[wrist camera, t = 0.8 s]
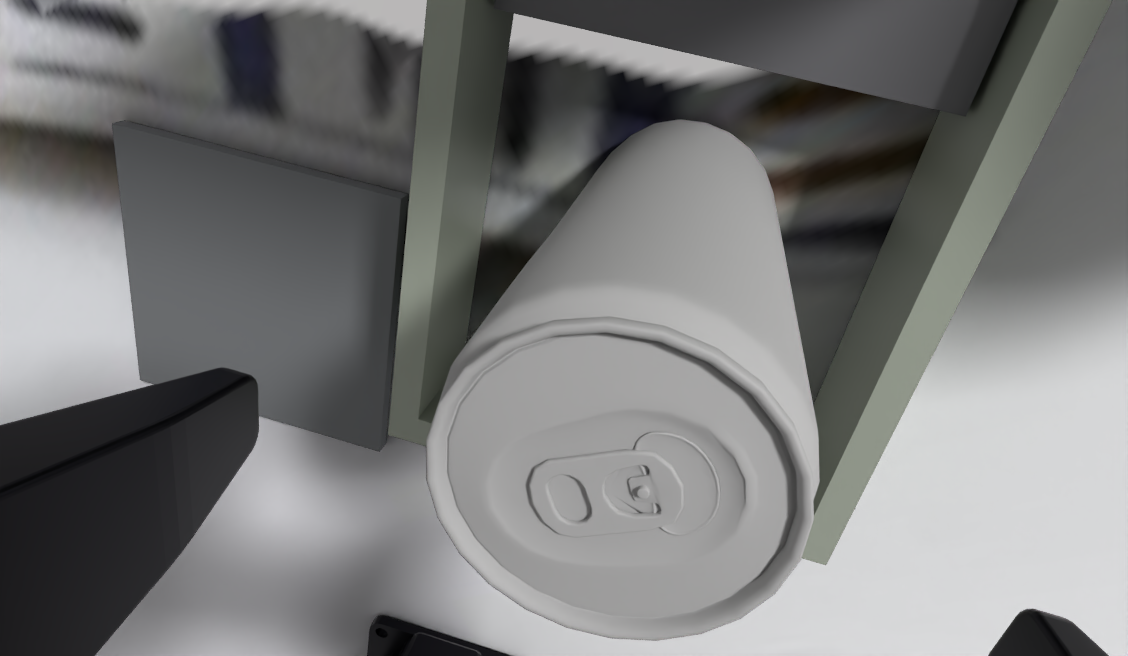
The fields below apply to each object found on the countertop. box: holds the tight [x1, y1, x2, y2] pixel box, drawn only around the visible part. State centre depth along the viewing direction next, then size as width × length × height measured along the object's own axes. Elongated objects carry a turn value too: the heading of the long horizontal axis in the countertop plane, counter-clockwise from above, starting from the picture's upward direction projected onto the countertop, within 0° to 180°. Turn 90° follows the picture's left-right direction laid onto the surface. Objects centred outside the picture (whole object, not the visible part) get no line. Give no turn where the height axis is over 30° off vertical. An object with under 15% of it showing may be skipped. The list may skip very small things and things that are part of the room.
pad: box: [112, 121, 408, 452], centre depth 23 cm, size 9×9×1 cm
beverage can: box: [426, 119, 820, 641], centre depth 14 cm, size 5×5×12 cm
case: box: [388, 0, 1113, 565], centre depth 17 cm, size 16×12×4 cm
